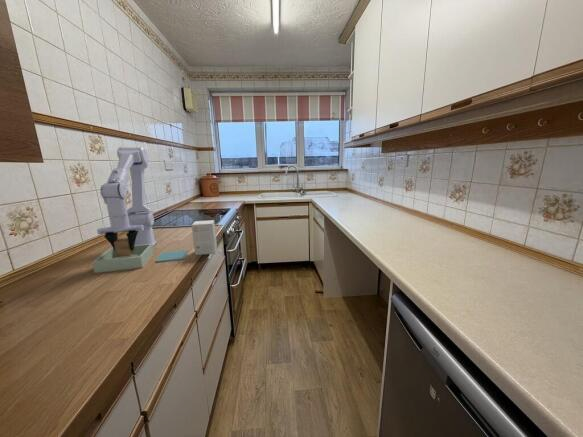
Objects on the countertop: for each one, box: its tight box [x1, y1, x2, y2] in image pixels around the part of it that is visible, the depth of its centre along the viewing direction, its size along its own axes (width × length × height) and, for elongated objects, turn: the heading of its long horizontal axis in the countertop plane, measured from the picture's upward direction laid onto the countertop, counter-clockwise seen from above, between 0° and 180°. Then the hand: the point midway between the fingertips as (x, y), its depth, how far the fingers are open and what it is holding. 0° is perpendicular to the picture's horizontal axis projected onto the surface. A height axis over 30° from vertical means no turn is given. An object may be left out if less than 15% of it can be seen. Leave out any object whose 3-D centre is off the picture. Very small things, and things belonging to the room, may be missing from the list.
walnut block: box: [114, 237, 134, 257], centre depth 92 cm, size 4×4×6 cm
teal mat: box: [155, 249, 188, 263], centre depth 98 cm, size 10×10×1 cm
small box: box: [191, 219, 218, 256], centre depth 101 cm, size 8×6×13 cm
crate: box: [91, 244, 155, 274], centre depth 93 cm, size 15×15×4 cm
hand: (125, 250), depth 92 cm, fingers closed on walnut block, 4 cm apart
